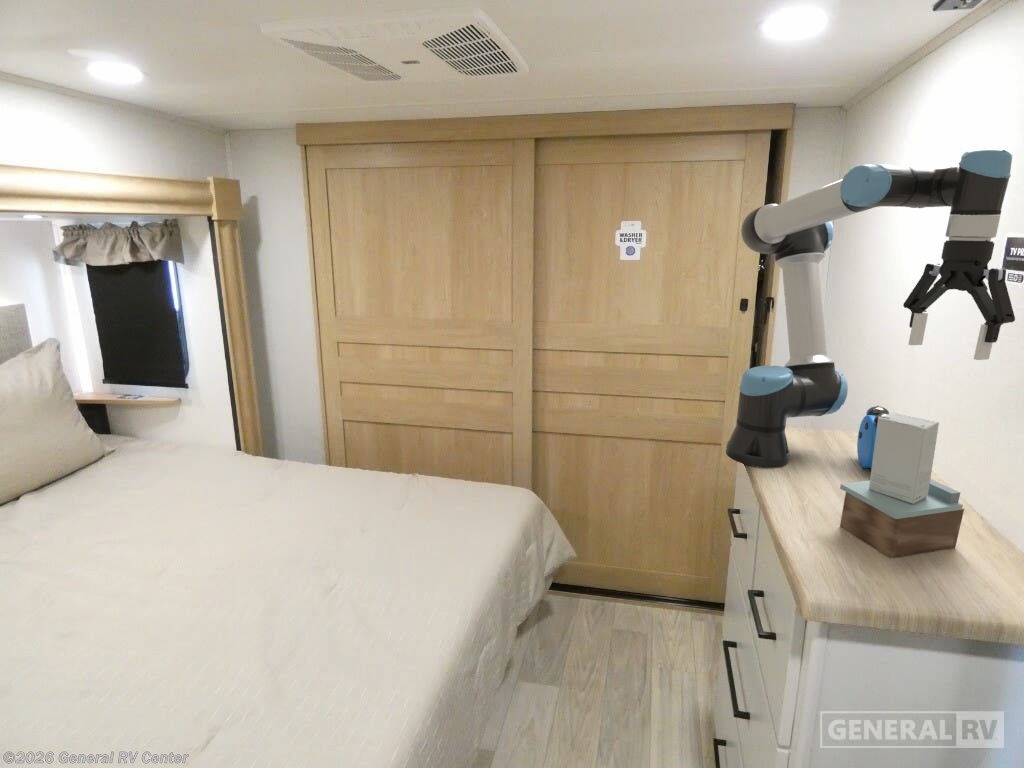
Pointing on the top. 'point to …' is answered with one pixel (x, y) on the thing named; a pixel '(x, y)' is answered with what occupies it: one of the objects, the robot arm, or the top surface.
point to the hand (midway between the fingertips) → (946, 351)
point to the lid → (935, 502)
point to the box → (900, 529)
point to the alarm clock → (868, 435)
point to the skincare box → (903, 457)
